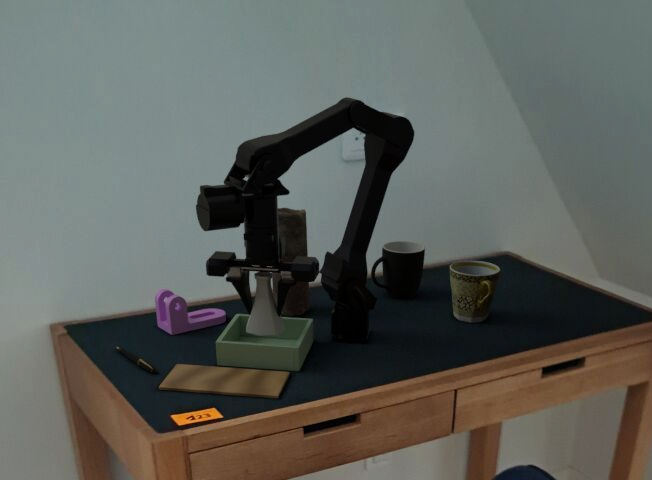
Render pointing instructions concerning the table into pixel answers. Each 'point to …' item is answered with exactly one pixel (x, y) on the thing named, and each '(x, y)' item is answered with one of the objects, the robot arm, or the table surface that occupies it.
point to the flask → (264, 309)
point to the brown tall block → (295, 245)
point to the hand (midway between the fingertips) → (265, 315)
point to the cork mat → (225, 381)
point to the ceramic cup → (473, 289)
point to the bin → (265, 345)
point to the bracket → (183, 314)
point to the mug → (401, 268)
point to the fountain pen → (137, 360)
